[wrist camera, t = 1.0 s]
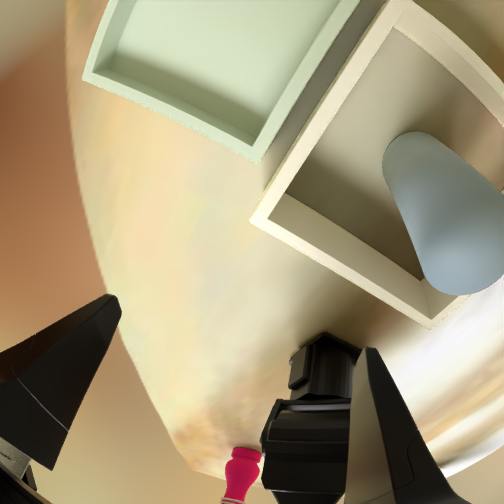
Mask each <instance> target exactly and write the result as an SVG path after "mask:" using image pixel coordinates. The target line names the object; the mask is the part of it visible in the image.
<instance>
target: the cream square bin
mask: <svg viewBox="0 0 504 504" xmlns="http://www.w3.org/2000/svg"><path fill="white" fill-rule="evenodd" d="M392 27H394V28H395V29H397V30H398V31H400V32H401V33H402V34H404V35H405V36H407V37H408V38H409V39H411V40H412V41H413V42H415V43H416V44H417V45H419V46H420V47H421V48H422V49H424V50H425V51H426V52H427V53H429V54H430V55H431V56H432V57H434V58H435V59H436V60H437V61H438V62H439V63H441V64H442V65H443V66H444V67H445V68H446V69H447V70H449V71H450V72H451V73H452V74H453V75H454V76H455V77H456V78H457V79H458V80H459V81H460V82H462V83H463V84H464V85H465V86H466V87H467V88H468V89H469V90H470V91H471V92H472V93H473V94H474V95H475V96H476V97H477V98H478V99H479V101H480V102H481V103H482V104H483V105H484V106H485V107H486V108H487V109H488V110H489V111H490V112H491V114H492V115H493V116H494V117H495V118H496V119H497V120H498V122H499V123H500V124H501V125H502V126H503V128H504V83H503V82H502V81H501V80H500V79H499V78H498V76H497V75H496V74H495V73H494V72H493V71H492V70H491V69H490V68H489V67H488V66H487V65H486V64H485V62H484V61H483V60H482V59H481V58H480V57H479V56H478V55H477V54H476V53H475V52H474V51H472V50H471V49H470V48H469V47H468V46H467V45H466V44H465V43H464V42H463V41H462V40H461V39H460V38H458V37H457V36H456V35H455V34H454V33H453V32H452V31H450V30H449V29H448V28H447V27H446V26H445V25H443V24H442V23H441V22H440V21H438V20H437V19H436V18H435V17H433V16H432V15H431V14H429V13H428V12H427V11H426V10H424V9H423V8H421V7H420V6H419V5H417V4H416V3H415V2H413V1H412V0H387V1H386V2H385V3H384V4H383V5H382V6H381V8H380V9H379V11H378V12H377V14H376V15H375V17H374V18H373V20H372V21H371V23H370V24H369V26H368V27H367V29H366V30H365V32H364V33H363V35H362V36H361V38H360V39H359V41H358V42H357V44H356V46H355V47H354V49H353V50H352V52H351V53H350V55H349V56H348V58H347V59H346V61H345V62H344V64H343V65H342V67H341V69H340V70H339V72H338V73H337V75H336V76H335V78H334V79H333V81H332V83H331V84H330V86H329V87H328V89H327V90H326V92H325V94H324V95H323V97H322V98H321V100H320V101H319V103H318V105H317V106H316V108H315V109H314V111H313V112H312V114H311V116H310V117H309V119H308V120H307V122H306V124H305V125H304V127H303V128H302V130H301V132H300V133H299V135H298V136H297V138H296V140H295V141H294V143H293V144H292V146H291V148H290V149H289V151H288V153H287V154H286V156H285V157H284V159H283V161H282V162H281V164H280V166H279V167H278V169H277V170H276V172H275V174H274V175H273V177H272V179H271V180H270V182H269V184H268V185H267V187H266V188H265V190H264V192H263V194H262V196H261V198H260V200H259V202H258V204H257V206H256V208H255V210H254V212H253V214H252V216H251V218H250V220H249V222H250V223H252V224H253V225H255V226H257V227H259V228H260V229H262V230H264V231H266V232H267V233H269V234H271V235H272V236H274V237H276V238H278V239H279V240H281V241H283V242H285V243H286V244H288V245H290V246H291V247H293V248H295V249H297V250H298V251H300V252H302V253H303V254H305V255H307V256H309V257H310V258H312V259H314V260H315V261H317V262H319V263H320V264H322V265H324V266H326V267H327V268H329V269H331V270H332V271H334V272H336V273H337V274H339V275H341V276H342V277H344V278H346V279H347V280H349V281H351V282H352V283H354V284H356V285H357V286H359V287H361V288H362V289H364V290H366V291H367V292H369V293H371V294H372V295H374V296H375V297H377V298H379V299H380V300H382V301H384V302H385V303H387V304H389V305H390V306H392V307H393V308H395V309H397V310H398V311H400V312H402V313H403V314H405V315H406V316H408V317H410V318H411V319H413V320H414V321H416V322H418V323H419V324H421V325H422V326H424V327H426V328H427V329H429V330H431V329H432V328H433V327H434V326H435V325H437V324H438V323H439V322H440V321H442V320H443V319H444V318H445V317H446V316H448V315H449V314H450V313H451V312H452V311H453V310H455V309H456V308H457V307H458V306H459V305H460V304H461V303H462V302H464V301H465V300H466V299H467V298H468V297H469V296H470V295H471V294H469V295H458V296H456V295H449V294H445V293H443V292H440V291H439V290H437V289H435V288H434V287H433V286H432V285H431V284H430V283H429V282H428V280H427V279H426V277H424V278H423V279H422V280H421V281H419V280H418V279H416V278H415V277H414V276H412V275H411V274H409V273H408V272H407V271H405V270H404V269H402V268H401V267H399V266H398V265H397V264H395V263H394V262H392V261H391V260H389V259H388V258H386V257H385V256H384V255H382V254H381V253H379V252H378V251H376V250H375V249H373V248H372V247H370V246H369V245H367V244H366V243H364V242H363V241H361V240H360V239H358V238H357V237H355V236H354V235H352V234H351V233H349V232H347V231H346V230H344V229H343V228H341V227H340V226H338V225H337V224H335V223H333V222H332V221H330V220H329V219H327V218H325V217H324V216H322V215H321V214H319V213H317V212H316V211H314V210H313V209H311V208H309V207H308V206H306V205H304V204H303V203H301V202H299V201H298V200H296V199H295V198H293V197H291V196H289V195H288V194H286V193H284V192H285V190H286V189H287V187H288V186H289V184H290V183H291V181H292V180H293V178H294V176H295V175H296V173H297V172H298V170H299V169H300V167H301V166H302V164H303V163H304V161H305V160H306V158H307V156H308V155H309V153H310V152H311V150H312V149H313V147H314V146H315V144H316V143H317V141H318V140H319V138H320V137H321V135H322V134H323V132H324V130H325V129H326V127H327V126H328V124H329V123H330V121H331V120H332V118H333V117H334V115H335V114H336V112H337V111H338V109H339V108H340V106H341V105H342V103H343V102H344V100H345V98H346V97H347V95H348V94H349V92H350V91H351V89H352V88H353V86H354V85H355V83H356V82H357V80H358V79H359V77H360V76H361V74H362V73H363V71H364V70H365V68H366V67H367V65H368V64H369V62H370V61H371V59H372V58H373V56H374V54H375V53H376V51H377V50H378V48H379V47H380V45H381V44H382V42H383V41H384V39H385V38H386V36H387V35H388V33H389V32H390V30H391V29H392ZM501 193H502V194H503V195H504V189H503V190H502V191H501Z"/></svg>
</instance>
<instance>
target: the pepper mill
mask: <svg viewBox="0 0 504 504" xmlns="http://www.w3.org/2000/svg"><path fill="white" fill-rule="evenodd" d="M231 456H232V457H233V459H232V460H230V461H228V462H227V464H226V467H225V475H226V480H227V489H226V493H225V496H224V498H221V499H222V500H221V501H220V503H221V504H245V503H244V499H245V495H246V492H247V490H248V489H249V487H250V486H251V485H252V484H253V483H254V481H255V480H256V479H257V477H258V475H259V472H260V469H259V467H258V465H257V463H259V462H260V459H261V454H260V453H259V452H257V451H254V450H251V449H247V448H234V449H233V451H232V455H231Z"/></svg>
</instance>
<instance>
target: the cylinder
mask: <svg viewBox="0 0 504 504" xmlns="http://www.w3.org/2000/svg"><path fill="white" fill-rule="evenodd" d="M382 168H383V175H384V178H385V181H386V183H387V185H388V187H389V189H390V191H391V193H392V196H393V198H394V200H395V202H396V204H397V207H398V209H399V211H400V214H401V216H402V218H403V221H404V223H405V226H406V228H407V230H408V233H409V235H410V238H411V240H412V243H413V246H414V248H415V251H416V254H417V256H418V259H419V262H420V265H421V267H422V270H423V273H424V275H425V277H426V279H427V280H428V282H429V283H430V284H431V285H432V286H433V287H434V288H435V289H437V290H439V291H440V292H443V293H445V294H449V295H456V296H458V295H469V294H473V293H476V292H479V291H481V290H483V289H485V288H487V287H489V286H490V285H492V284H493V283H494V282H496V281H497V280H498V279H499V278H500V277H501V276H502V275H503V274H504V195H503V194H502V193H501V192H500V191H499V190H498V189H497V188H496V187H495V186H494V185H493V184H492V183H491V182H489V181H488V180H487V179H486V178H485V177H484V176H483V175H482V174H480V173H479V172H478V171H477V170H476V169H475V168H473V167H472V166H471V165H470V164H469V163H467V162H466V161H465V160H464V159H462V158H461V157H460V156H459V155H457V154H456V153H455V152H453V151H452V150H451V149H450V148H448V147H447V146H446V145H444V144H443V143H442V142H440V141H439V140H437V139H436V138H435V137H433V136H432V135H430V134H427V133H425V132H420V131H412V132H407V133H404V134H402V135H400V136H398V137H397V138H395V139H394V140H393V141H392V142H391V143H390V145H389V146H388V148H387V149H386V152H385V154H384V157H383V164H382Z"/></svg>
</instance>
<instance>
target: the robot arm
mask: <svg viewBox="0 0 504 504" xmlns="http://www.w3.org/2000/svg"><path fill="white" fill-rule="evenodd" d="M121 315H122V311H121V307H120V304H119V301H118V298H117V297H116V296H115V295H112V294H105V295H103V296H101V297H99V298H98V299H96V300H94V301H92V302H90V303H89V304H87V305H85V306H83V307H81V308H80V309H78V310H77V311H75V312H73V313H71V314H69V315H67V316H66V317H64V318H62V319H60V320H59V321H57V322H55V323H53V324H52V325H50V326H48V327H47V328H45V329H43V330H41V331H40V332H38V333H36V335H35V334H34V335H33V336H31V337H30V338H28V339H26V340H24V341H22V342H20V343H19V344H17V345H15V346H13V347H11V348H9V349H7V350H5V351H3V352H1V353H0V504H52V503H51V502H49V501H48V500H46V499H45V498H44V497H42V496H41V495H39V494H38V493H37V492H36V491H37V487H36V484H35V480H34V477H33V473H32V469H31V465H29V463H30V462H31V459H33V460H34V461H36V462H38V463H39V464H41V465H42V466H44V467H46V468H47V469H49V470H51V471H52V470H53V468H54V466H55V463H56V461H57V458H58V456H59V453H60V450H61V448H62V446H63V444H64V441H65V439H66V436H67V434H68V431H69V429H70V427H71V425H72V422H73V420H74V418H75V416H76V413H77V411H78V409H79V407H80V405H81V403H82V400H83V398H84V396H85V394H86V392H87V389H88V388H89V386H90V384H91V382H92V380H93V378H94V376H95V373H96V371H97V370H98V367H99V366H100V364H101V362H102V359H103V358H104V356H105V354H106V351H107V350H108V348H109V345H110V343H111V340H112V338H113V335H114V333H115V330H116V328H117V325H118V323H119V320H120V318H121ZM324 337H325V338H324ZM289 365H290V366H292V367H291V372H290V378H289V383H288V387H289V389H291V396H290V400H283V399H277V400H276V402H275V404H274V406H273V408H272V410H271V413H270V415H269V417H268V420H267V422H266V424H265V427H264V429H263V431H262V434H261V437H260V443H261V444H262V454H263V456H264V458H265V461H264V467H263V472H262V476H261V480H262V483H263V486H264V488H265V489H266V490H271V491H272V493H273V495H274V496H275V498H276V500H277V502H278V504H336V503H337V502H338V501H339V500H340V498H341V497H342V496H343V495H344V493H345V498H344V504H471V503H469V502H468V501H466V500H464V499H463V498H461V497H460V496H458V495H457V494H456V493H455V492H454V491H453V489H452V488H451V487H450V485H449V483H448V482H447V480H446V478H445V477H444V475H443V473H442V472H441V470H440V468H439V467H438V465H437V464H436V462H435V460H434V458H433V457H432V455H431V453H430V452H429V450H428V448H427V446H426V444H425V442H424V440H423V438H422V436H421V434H420V432H419V430H418V428H417V426H416V424H415V422H414V420H413V417H412V415H411V413H410V411H409V409H408V407H407V405H406V403H405V402H404V400H403V398H402V396H401V394H400V392H399V390H398V388H397V386H396V384H395V382H394V380H393V378H392V376H391V375H390V373H389V371H388V369H387V367H386V365H385V363H384V361H383V360H382V358H381V356H380V354H379V352H378V351H377V349H376V348H371V347H365V348H364V349H363V350H360V349H358V348H356V347H354V346H352V345H350V344H348V343H346V342H344V341H342V340H340V339H338V338H336V337H334V336H332V335H330V334H328V333H321V334H320V335H319V336H318V337H316V338H315V339H314V340H313V341H312V342H310V343H309V344H308V345H306V346H305V347H303V348H302V349H301V350H300V351H299V352H297V353H296V354H295V355H294V356H293V357H292V358H291V359H290V360H289Z"/></svg>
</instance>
